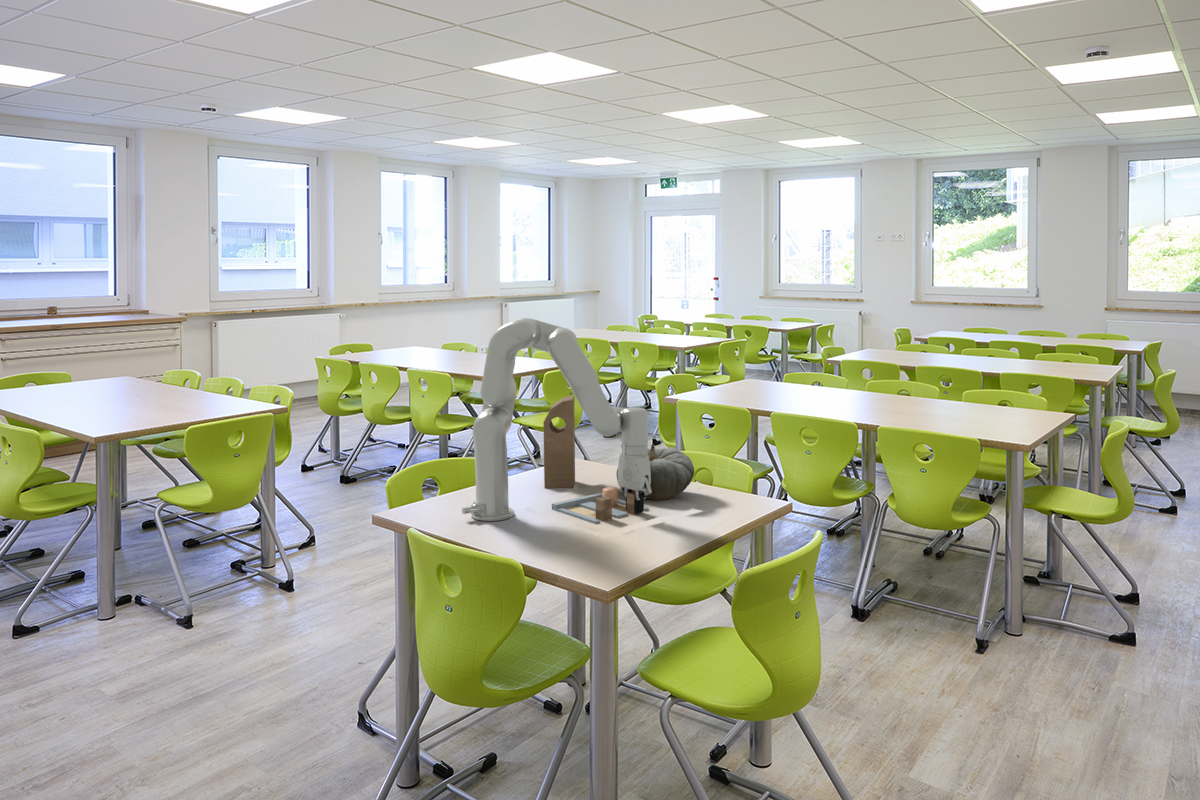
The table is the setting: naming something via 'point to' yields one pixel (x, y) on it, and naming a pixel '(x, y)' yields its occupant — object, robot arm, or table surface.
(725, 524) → the table surface
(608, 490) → the peach rounded cylinder
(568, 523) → the table surface
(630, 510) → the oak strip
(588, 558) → the table surface
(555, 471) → the decorative block
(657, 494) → the gourd
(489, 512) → the robot arm
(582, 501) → the lane frame
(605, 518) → the brown wooden block
